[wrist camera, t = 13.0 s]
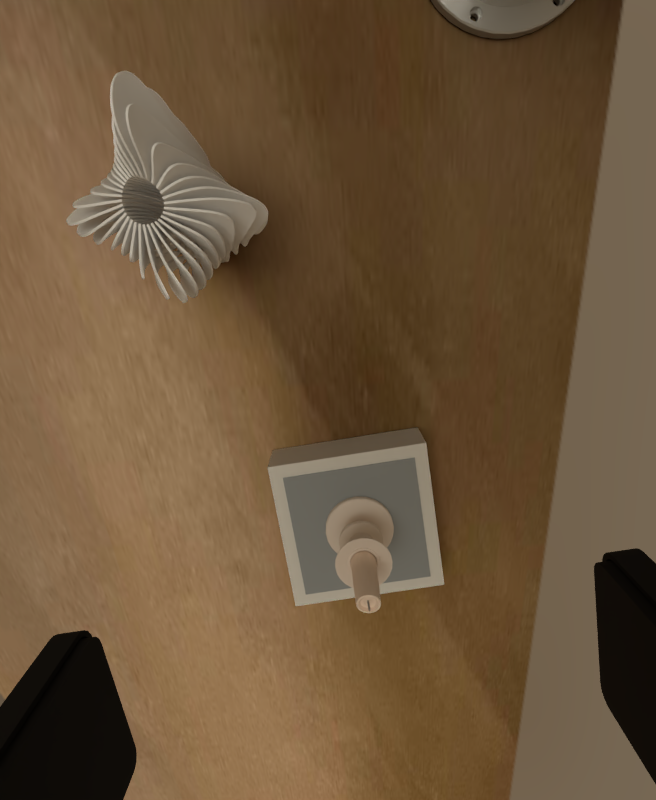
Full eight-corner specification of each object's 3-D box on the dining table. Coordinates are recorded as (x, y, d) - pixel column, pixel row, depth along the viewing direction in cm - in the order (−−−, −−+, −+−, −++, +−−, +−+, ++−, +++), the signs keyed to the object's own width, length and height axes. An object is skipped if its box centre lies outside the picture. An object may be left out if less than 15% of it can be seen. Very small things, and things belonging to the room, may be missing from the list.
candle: (386, 562, 42) (404, 654, 32) (320, 552, 42) (318, 642, 32) (398, 501, 41) (422, 577, 31) (331, 491, 41) (332, 564, 31)
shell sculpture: (226, 305, 42) (152, 331, 24) (137, 234, 40) (-8, 208, 23) (292, 217, 40) (264, 178, 23) (202, 141, 39) (99, 38, 21)
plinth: (417, 427, 44) (426, 443, 40) (434, 558, 47) (444, 585, 43) (272, 450, 44) (267, 468, 40) (298, 578, 47) (295, 607, 43)
